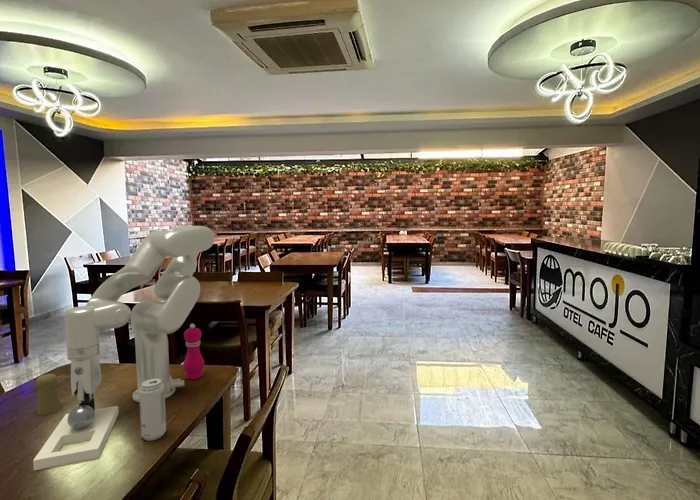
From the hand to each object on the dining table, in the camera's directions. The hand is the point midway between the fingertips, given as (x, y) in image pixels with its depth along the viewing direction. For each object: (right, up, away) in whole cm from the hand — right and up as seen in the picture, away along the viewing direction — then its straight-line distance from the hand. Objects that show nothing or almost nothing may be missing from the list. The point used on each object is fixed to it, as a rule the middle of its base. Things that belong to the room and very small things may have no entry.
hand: (87, 413), depth 107 cm
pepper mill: (+17, 0, +32) cm, 36 cm away
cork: (-18, -3, +8) cm, 20 cm away
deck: (+3, -4, -6) cm, 8 cm away
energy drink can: (+21, -4, -5) cm, 22 cm away
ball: (+2, +2, -6) cm, 7 cm away
